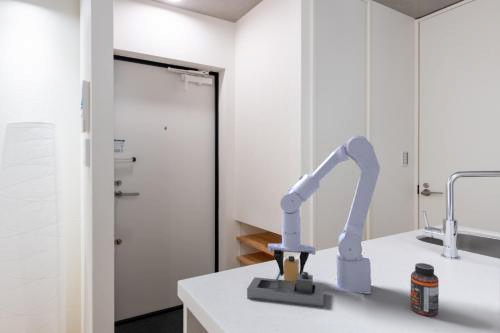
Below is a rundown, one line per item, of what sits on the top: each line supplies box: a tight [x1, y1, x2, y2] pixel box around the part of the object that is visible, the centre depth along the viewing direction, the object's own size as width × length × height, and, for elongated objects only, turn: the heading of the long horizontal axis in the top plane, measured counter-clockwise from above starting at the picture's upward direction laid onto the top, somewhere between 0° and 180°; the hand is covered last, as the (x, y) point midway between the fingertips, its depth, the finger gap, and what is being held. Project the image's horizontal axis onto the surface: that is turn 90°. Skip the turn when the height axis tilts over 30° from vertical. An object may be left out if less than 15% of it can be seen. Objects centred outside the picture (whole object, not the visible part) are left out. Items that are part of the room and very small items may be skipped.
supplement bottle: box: [410, 262, 440, 317], centre depth 74 cm, size 6×6×11 cm
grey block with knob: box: [296, 271, 314, 294], centre depth 80 cm, size 4×4×7 cm
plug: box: [283, 255, 300, 281], centre depth 92 cm, size 4×4×7 cm
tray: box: [273, 269, 311, 280], centre depth 92 cm, size 11×11×1 cm
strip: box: [246, 276, 325, 308], centre depth 82 cm, size 20×8×3 cm, turn 75°
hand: (291, 275), depth 92 cm, fingers open, 5 cm apart
